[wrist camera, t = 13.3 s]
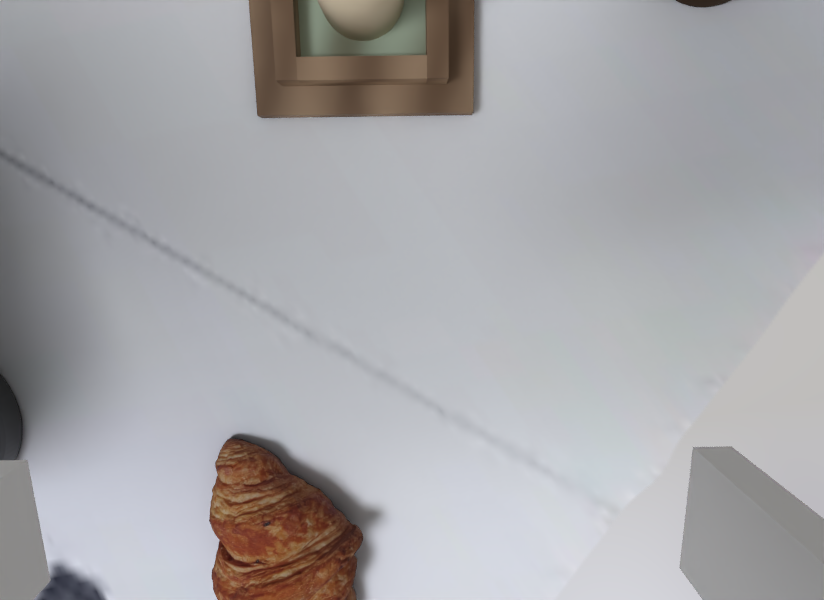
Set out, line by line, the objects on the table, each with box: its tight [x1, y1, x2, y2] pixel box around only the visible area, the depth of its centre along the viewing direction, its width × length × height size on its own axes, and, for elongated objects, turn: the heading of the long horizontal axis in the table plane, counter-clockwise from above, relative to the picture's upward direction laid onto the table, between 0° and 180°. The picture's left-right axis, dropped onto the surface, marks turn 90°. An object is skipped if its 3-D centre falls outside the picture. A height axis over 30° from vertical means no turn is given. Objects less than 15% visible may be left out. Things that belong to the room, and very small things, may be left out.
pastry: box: [209, 439, 363, 600], centre depth 42 cm, size 17×15×8 cm
